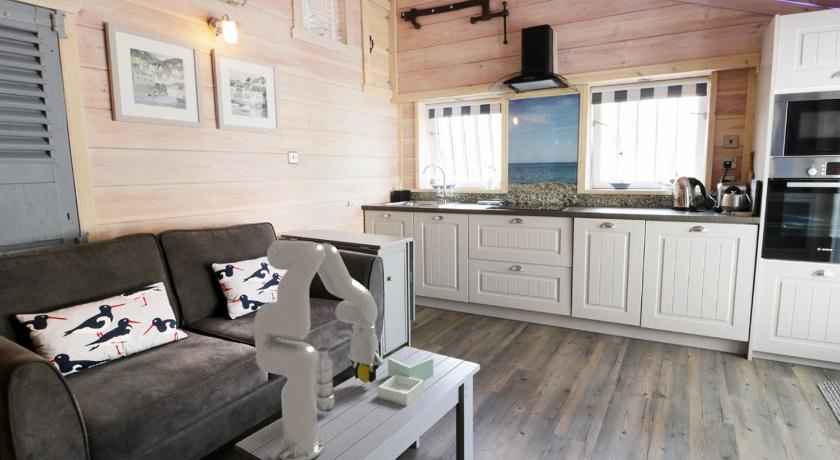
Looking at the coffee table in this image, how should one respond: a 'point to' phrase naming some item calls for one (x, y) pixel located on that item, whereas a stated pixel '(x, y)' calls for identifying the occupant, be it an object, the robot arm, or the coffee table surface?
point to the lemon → (363, 372)
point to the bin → (401, 389)
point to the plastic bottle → (324, 381)
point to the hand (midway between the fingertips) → (365, 378)
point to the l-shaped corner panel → (411, 369)
